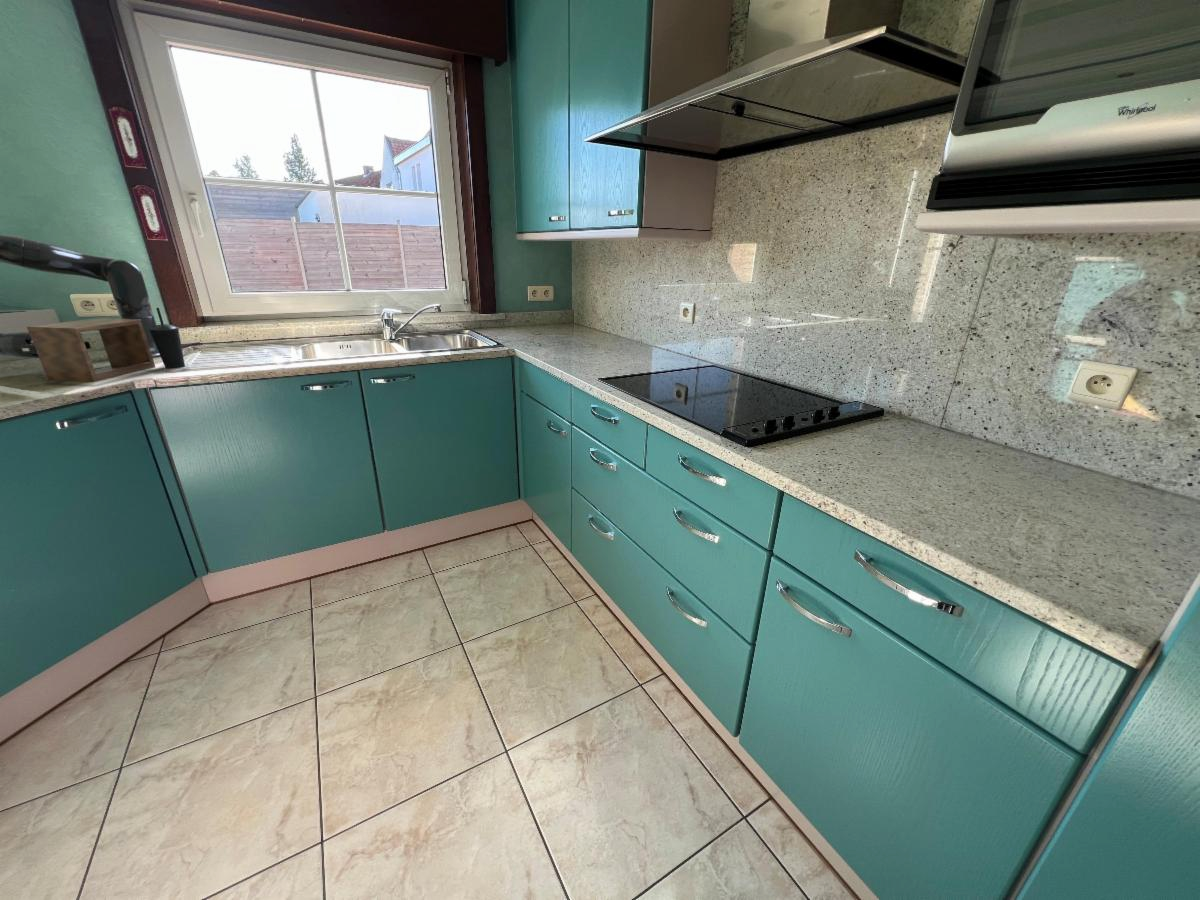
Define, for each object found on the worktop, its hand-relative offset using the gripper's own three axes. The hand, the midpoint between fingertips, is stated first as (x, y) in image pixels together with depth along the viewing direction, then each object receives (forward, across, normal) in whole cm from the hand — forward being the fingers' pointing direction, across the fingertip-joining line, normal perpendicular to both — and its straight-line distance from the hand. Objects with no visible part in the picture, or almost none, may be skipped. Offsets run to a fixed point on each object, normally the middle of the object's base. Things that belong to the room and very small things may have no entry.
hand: (78, 346), depth 149 cm
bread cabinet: (+5, 0, +9) cm, 11 cm away
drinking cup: (+18, +11, +9) cm, 23 cm away
